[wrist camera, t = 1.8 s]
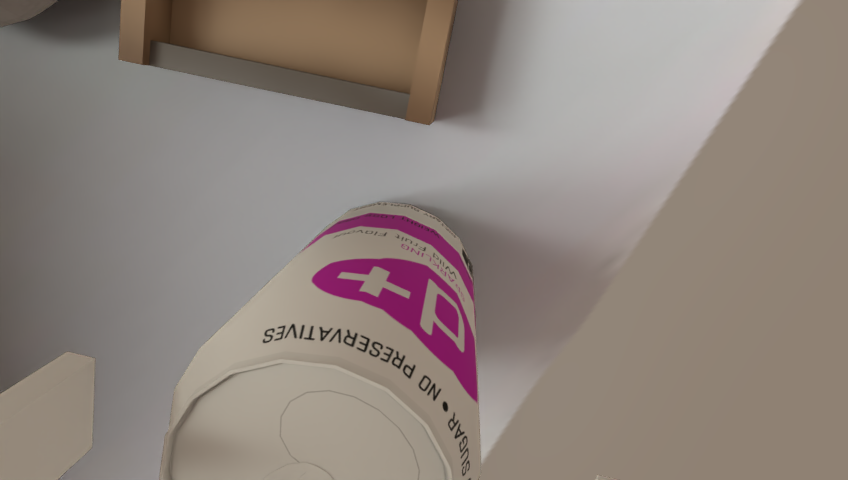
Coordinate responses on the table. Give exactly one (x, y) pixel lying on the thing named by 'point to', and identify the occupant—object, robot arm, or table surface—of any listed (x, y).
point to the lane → (302, 47)
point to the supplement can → (341, 364)
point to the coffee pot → (21, 10)
